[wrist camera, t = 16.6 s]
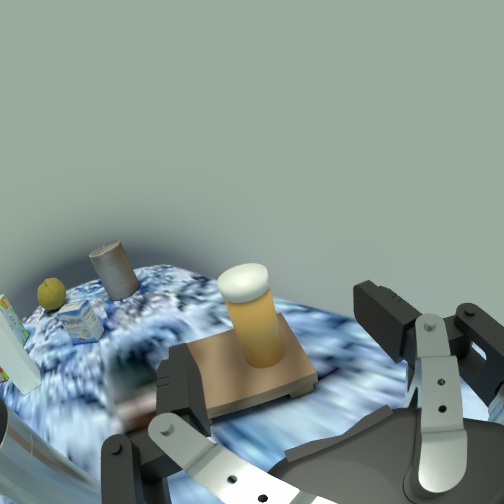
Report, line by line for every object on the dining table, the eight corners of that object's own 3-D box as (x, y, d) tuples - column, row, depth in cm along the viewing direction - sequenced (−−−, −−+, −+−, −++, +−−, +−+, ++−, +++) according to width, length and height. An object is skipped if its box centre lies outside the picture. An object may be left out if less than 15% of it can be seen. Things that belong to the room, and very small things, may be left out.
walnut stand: (187, 432, 27) (173, 416, 26) (182, 365, 39) (172, 347, 38) (319, 391, 29) (316, 371, 28) (285, 332, 41) (280, 312, 40)
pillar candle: (133, 279, 76) (113, 234, 70) (144, 287, 69) (122, 236, 63) (106, 295, 70) (84, 249, 64) (115, 305, 63) (89, 254, 57)
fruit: (77, 295, 76) (64, 269, 72) (60, 315, 65) (44, 287, 61) (57, 300, 77) (45, 275, 73) (40, 318, 66) (26, 292, 62)
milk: (23, 381, 38) (-31, 299, 30) (40, 370, 42) (-13, 285, 33) (24, 396, 34) (-37, 307, 25) (42, 384, 37) (-18, 293, 29)
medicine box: (74, 344, 50) (55, 314, 46) (82, 333, 54) (64, 303, 50) (98, 342, 49) (78, 309, 46) (105, 330, 53) (87, 298, 50)
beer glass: (250, 374, 30) (220, 296, 25) (241, 347, 35) (214, 273, 30) (291, 359, 30) (273, 279, 26) (278, 334, 35) (259, 258, 31)
